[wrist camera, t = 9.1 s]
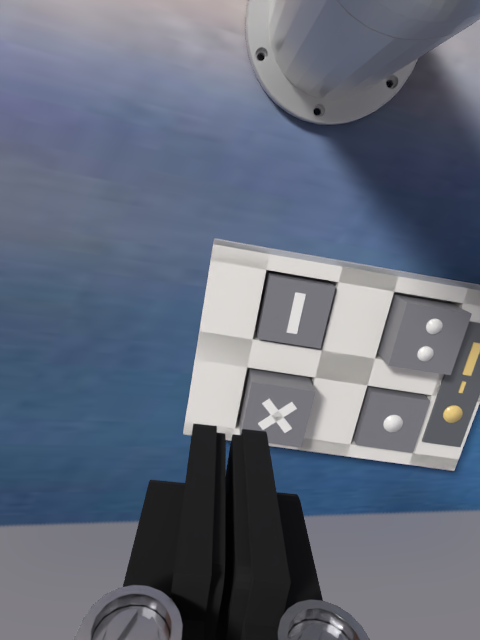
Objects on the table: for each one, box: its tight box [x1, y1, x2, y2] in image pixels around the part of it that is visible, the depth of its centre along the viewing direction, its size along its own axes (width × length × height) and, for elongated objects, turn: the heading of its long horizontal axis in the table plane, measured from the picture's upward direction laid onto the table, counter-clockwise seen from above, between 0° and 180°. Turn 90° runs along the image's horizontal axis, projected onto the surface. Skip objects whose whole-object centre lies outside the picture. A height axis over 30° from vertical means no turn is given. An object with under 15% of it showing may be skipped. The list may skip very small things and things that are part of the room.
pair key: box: [377, 293, 472, 375], centre depth 35 cm, size 5×5×3 cm
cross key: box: [239, 368, 316, 447], centre depth 36 cm, size 5×5×3 cm
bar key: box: [255, 270, 336, 349], centre depth 35 cm, size 5×5×3 cm
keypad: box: [183, 238, 480, 471], centre depth 38 cm, size 16×24×4 cm, turn 80°
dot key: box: [353, 386, 430, 453], centre depth 38 cm, size 5×5×3 cm
